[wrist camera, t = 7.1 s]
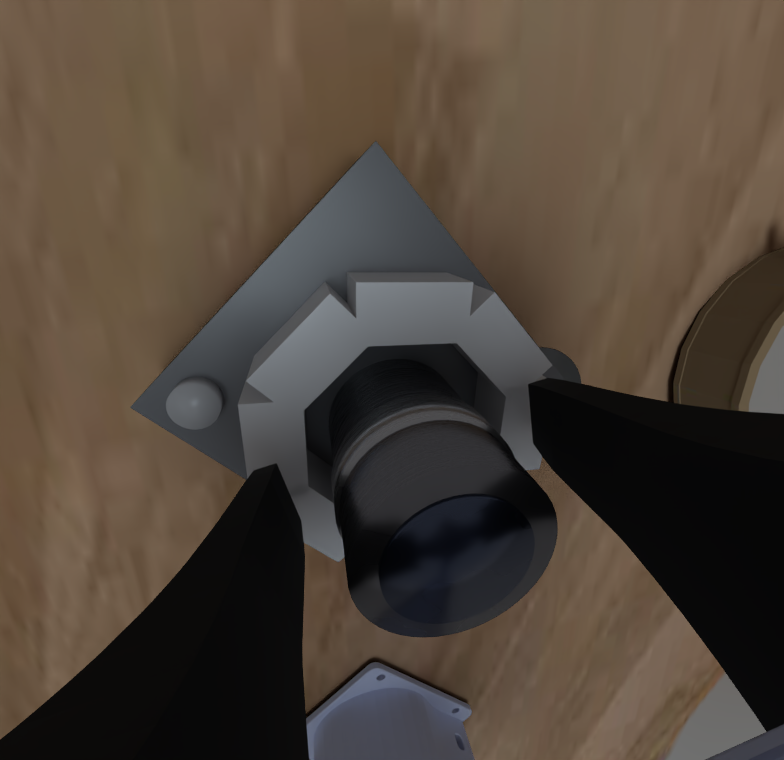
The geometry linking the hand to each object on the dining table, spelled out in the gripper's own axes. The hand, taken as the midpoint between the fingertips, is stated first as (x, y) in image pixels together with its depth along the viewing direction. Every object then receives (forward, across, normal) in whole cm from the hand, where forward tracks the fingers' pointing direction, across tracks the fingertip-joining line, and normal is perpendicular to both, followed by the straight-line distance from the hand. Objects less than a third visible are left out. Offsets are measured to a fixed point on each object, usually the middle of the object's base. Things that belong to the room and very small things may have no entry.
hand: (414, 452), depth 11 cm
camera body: (+6, 0, 0) cm, 6 cm away
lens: (+3, 0, 0) cm, 3 cm away
